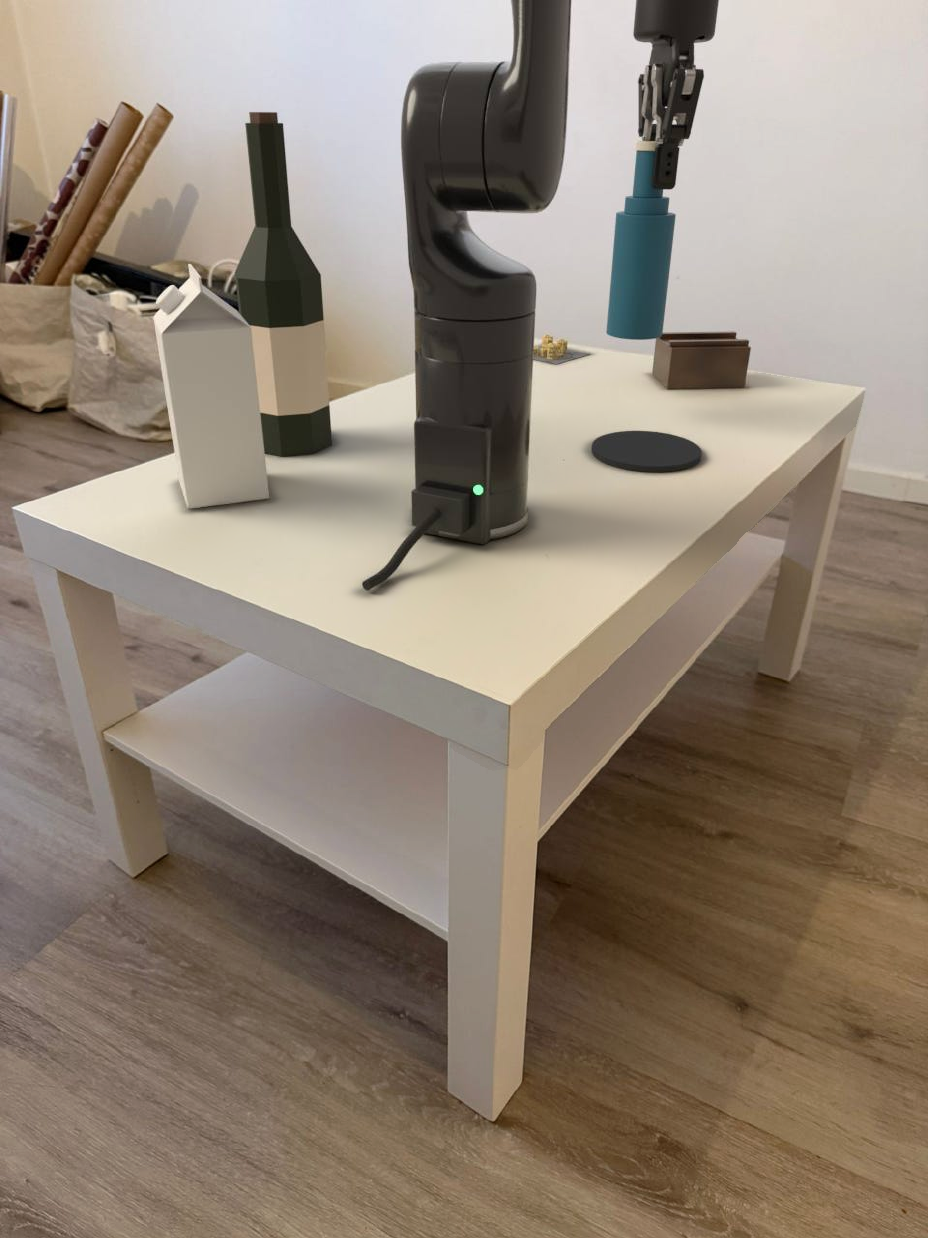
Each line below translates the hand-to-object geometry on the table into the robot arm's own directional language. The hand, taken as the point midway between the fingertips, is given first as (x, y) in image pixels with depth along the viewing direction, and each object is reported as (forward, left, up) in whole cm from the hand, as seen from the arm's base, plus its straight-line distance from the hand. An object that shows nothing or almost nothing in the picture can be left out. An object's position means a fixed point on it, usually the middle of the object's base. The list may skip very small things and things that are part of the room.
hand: (657, 186), depth 91 cm
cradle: (+18, -3, -24) cm, 30 cm away
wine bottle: (-25, +30, -24) cm, 45 cm away
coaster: (-12, -4, -24) cm, 27 cm away
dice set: (+23, +19, -24) cm, 38 cm away
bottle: (+1, -2, -5) cm, 6 cm away
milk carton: (-39, +28, -24) cm, 53 cm away
